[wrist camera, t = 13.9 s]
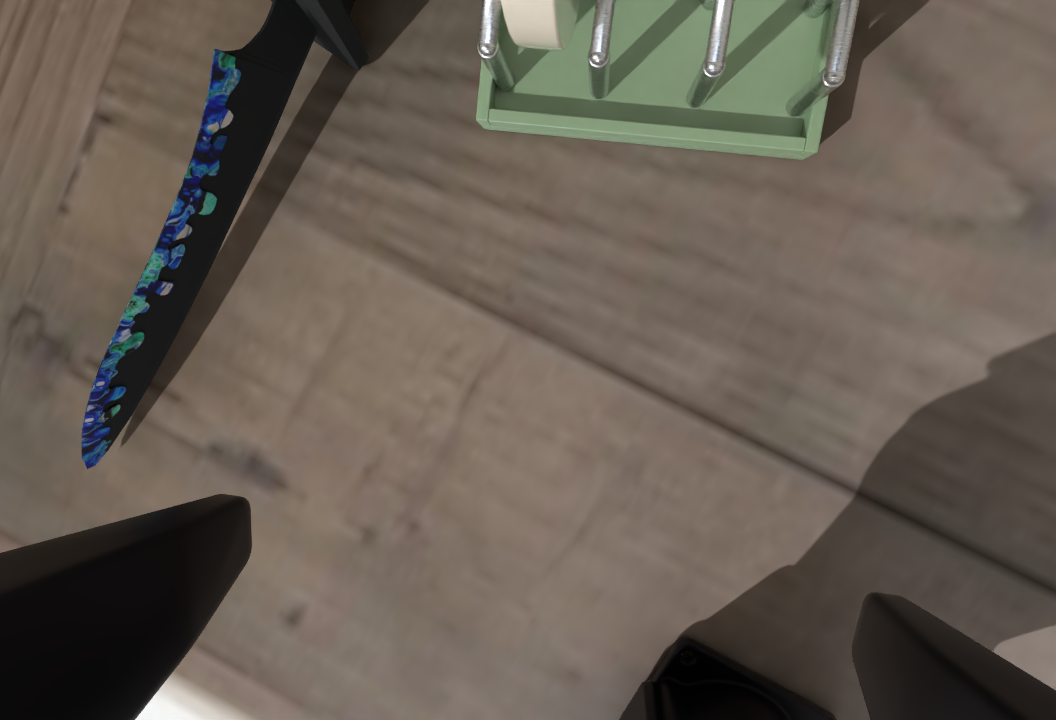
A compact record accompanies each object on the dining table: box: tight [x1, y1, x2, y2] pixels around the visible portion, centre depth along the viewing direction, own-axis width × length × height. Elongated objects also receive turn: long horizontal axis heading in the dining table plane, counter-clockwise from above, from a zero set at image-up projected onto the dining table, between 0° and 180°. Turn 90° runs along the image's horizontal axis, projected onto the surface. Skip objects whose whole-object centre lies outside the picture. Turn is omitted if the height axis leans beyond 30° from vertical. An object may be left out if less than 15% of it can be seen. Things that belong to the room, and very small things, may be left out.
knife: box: [82, 0, 369, 469], centre depth 19 cm, size 31×3×4 cm, turn 143°
